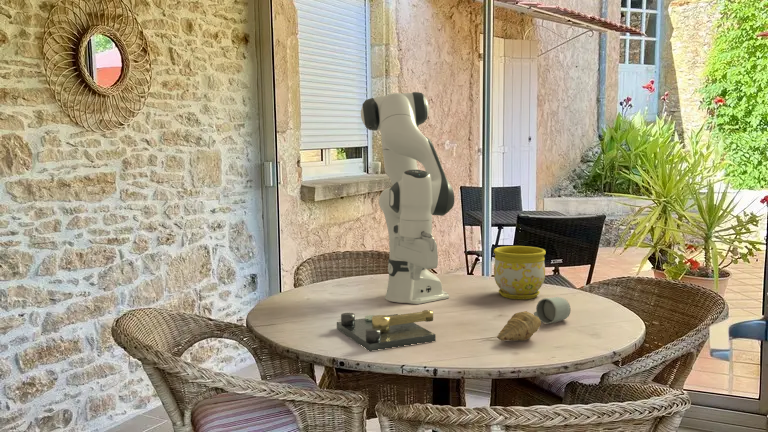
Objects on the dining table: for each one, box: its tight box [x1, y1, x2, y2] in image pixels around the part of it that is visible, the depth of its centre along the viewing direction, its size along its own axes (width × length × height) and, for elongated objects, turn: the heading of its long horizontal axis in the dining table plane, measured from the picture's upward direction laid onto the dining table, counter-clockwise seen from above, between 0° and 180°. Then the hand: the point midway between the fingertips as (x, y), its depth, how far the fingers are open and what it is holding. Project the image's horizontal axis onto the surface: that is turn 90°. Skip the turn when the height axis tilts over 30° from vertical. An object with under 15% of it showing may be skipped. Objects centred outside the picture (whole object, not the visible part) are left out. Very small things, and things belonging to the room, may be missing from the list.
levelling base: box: [336, 312, 437, 352], centre depth 195 cm, size 20×24×5 cm
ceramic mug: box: [533, 296, 572, 325], centre depth 208 cm, size 11×8×8 cm
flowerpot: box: [493, 245, 546, 300], centre depth 240 cm, size 18×18×16 cm
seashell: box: [496, 310, 542, 342], centre depth 187 cm, size 14×8×8 cm, turn 132°
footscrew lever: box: [372, 309, 434, 332], centre depth 195 cm, size 19×5×4 cm, turn 115°
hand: (414, 279), depth 187 cm, fingers closed
